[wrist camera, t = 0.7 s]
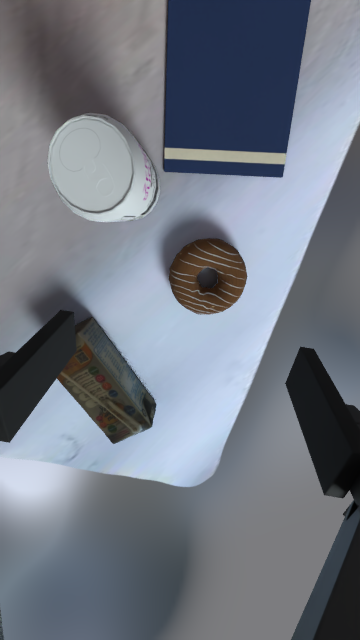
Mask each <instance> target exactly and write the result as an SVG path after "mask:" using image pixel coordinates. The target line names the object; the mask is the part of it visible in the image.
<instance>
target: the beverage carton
mask: <svg viewBox="0 0 360 640" xmlns="http://www.w3.org/2000/svg"><path fill="white" fill-rule="evenodd" d="M75 335H76V347H77V351H76V352H75V354H74V355H73V356H72V358H71V359H70V360H69V362H68V363H67V365H66V366H65V367H64V369H63V370H62V371H61V373H60V374H59V375H58V377H57V379H58V380H59V381H60V383H61V384H62V385H63V386H64V387H65V388H66V389H67V391H68V392H69V393H70V394H71V395H72V396H73V397H74V399H75V400H76V401H77V402H78V403H79V404H80V405H81V407H82V408H83V409H84V410H85V411H86V412H87V414H88V415H89V416H90V417H91V418H92V420H93V421H94V422H95V423H96V424H97V425H98V426H99V428H100V429H101V430H102V431H103V432H104V433H105V435H106V436H107V437H108V438H109V439H110V441H111V442H112V443H113V444H115V443H118V442H120V441H122V440H124V439H126V438H129V437H131V436H133V435H136V434H138V433H140V432H143V431H145V430H148V429H150V428H151V427H152V425H153V418H154V415H155V411H156V410H155V408H156V403H155V401H154V400H153V399H152V397H151V396H150V395H149V393H148V392H147V391H146V389H145V388H144V386H143V385H142V384H141V382H140V381H139V380H138V378H137V377H136V376H135V374H134V373H133V371H132V370H131V369H130V367H129V366H128V365H127V363H126V362H125V360H124V359H123V358H122V356H121V355H120V354H119V352H118V351H117V350H116V348H115V347H114V346H113V344H112V343H111V342H110V340H109V339H108V338H107V336H106V335H105V334H104V332H103V331H102V330H101V328H100V327H99V326H98V324H97V323H96V322H95V320H94V319H93V317H91V318H89V319H87V320H84V321H83V322H81V323H79V324H77V325H75Z"/></svg>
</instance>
